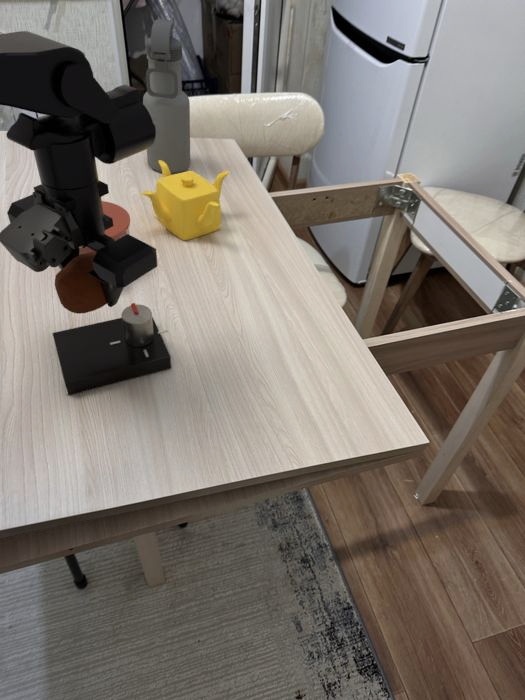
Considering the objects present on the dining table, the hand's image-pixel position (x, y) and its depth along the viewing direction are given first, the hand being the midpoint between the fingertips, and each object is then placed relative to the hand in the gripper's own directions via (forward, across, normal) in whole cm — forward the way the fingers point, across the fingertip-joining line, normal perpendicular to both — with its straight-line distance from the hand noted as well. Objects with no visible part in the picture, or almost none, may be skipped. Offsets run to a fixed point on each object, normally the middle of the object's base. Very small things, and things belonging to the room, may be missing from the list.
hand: (92, 293), depth 62 cm
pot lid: (+4, -18, +15) cm, 24 cm away
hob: (+11, +2, 0) cm, 11 cm away
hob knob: (+9, +3, +4) cm, 10 cm away
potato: (+1, 0, 0) cm, 1 cm away
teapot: (+11, -14, +35) cm, 39 cm away
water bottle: (+11, -34, +51) cm, 62 cm away
